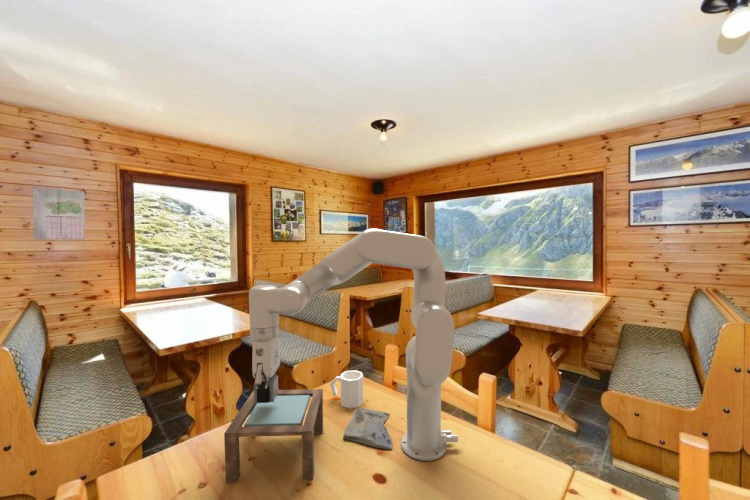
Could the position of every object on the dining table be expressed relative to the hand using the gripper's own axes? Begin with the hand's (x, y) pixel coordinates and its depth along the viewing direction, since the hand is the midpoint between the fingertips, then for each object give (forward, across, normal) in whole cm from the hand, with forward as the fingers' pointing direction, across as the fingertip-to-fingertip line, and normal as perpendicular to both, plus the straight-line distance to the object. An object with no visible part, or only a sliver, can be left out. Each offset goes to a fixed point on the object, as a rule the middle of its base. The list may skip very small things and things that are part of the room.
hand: (266, 396), depth 89 cm
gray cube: (0, 0, 0) cm, 0 cm away
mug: (+16, +26, -20) cm, 37 cm away
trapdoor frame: (+16, 0, -3) cm, 16 cm away
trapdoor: (+5, 0, -4) cm, 6 cm away
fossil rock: (+17, +10, -29) cm, 35 cm away
